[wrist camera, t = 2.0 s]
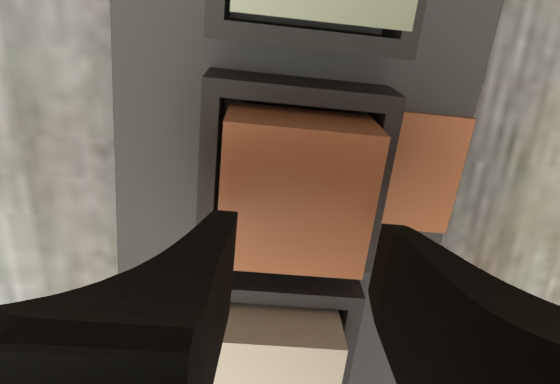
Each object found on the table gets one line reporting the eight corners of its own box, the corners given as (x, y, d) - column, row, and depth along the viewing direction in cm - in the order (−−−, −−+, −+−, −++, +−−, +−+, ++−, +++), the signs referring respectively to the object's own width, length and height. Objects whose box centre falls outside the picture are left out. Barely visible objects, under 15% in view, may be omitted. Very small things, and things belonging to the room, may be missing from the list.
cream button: (336, 301, 20) (348, 350, 17) (320, 391, 21) (328, 449, 19) (217, 293, 19) (209, 342, 16) (211, 385, 21) (203, 443, 18)
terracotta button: (369, 115, 17) (390, 137, 14) (347, 238, 18) (362, 279, 16) (229, 101, 16) (223, 121, 13) (221, 228, 18) (214, 268, 15)
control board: (530, -207, 16) (624, -280, 12) (384, 388, 26) (407, 461, 22) (121, -269, 15) (66, -372, 11) (132, 374, 25) (106, 447, 21)
